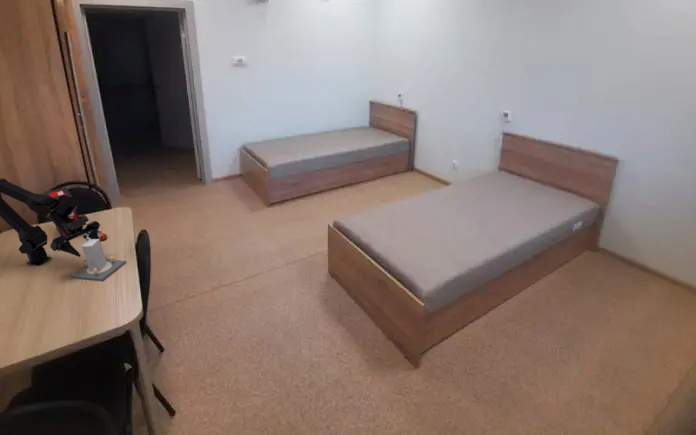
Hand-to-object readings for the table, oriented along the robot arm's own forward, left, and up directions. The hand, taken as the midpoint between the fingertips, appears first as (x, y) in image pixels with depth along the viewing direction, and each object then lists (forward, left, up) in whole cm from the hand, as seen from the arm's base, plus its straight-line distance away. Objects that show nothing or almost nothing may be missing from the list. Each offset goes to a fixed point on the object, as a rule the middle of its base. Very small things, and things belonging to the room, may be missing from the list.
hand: (90, 250), depth 162 cm
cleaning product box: (-38, +29, -9) cm, 49 cm away
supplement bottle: (-13, +16, -9) cm, 22 cm away
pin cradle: (+2, 0, -9) cm, 9 cm away
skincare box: (+2, 0, -8) cm, 8 cm away
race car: (-21, +25, -9) cm, 34 cm away
